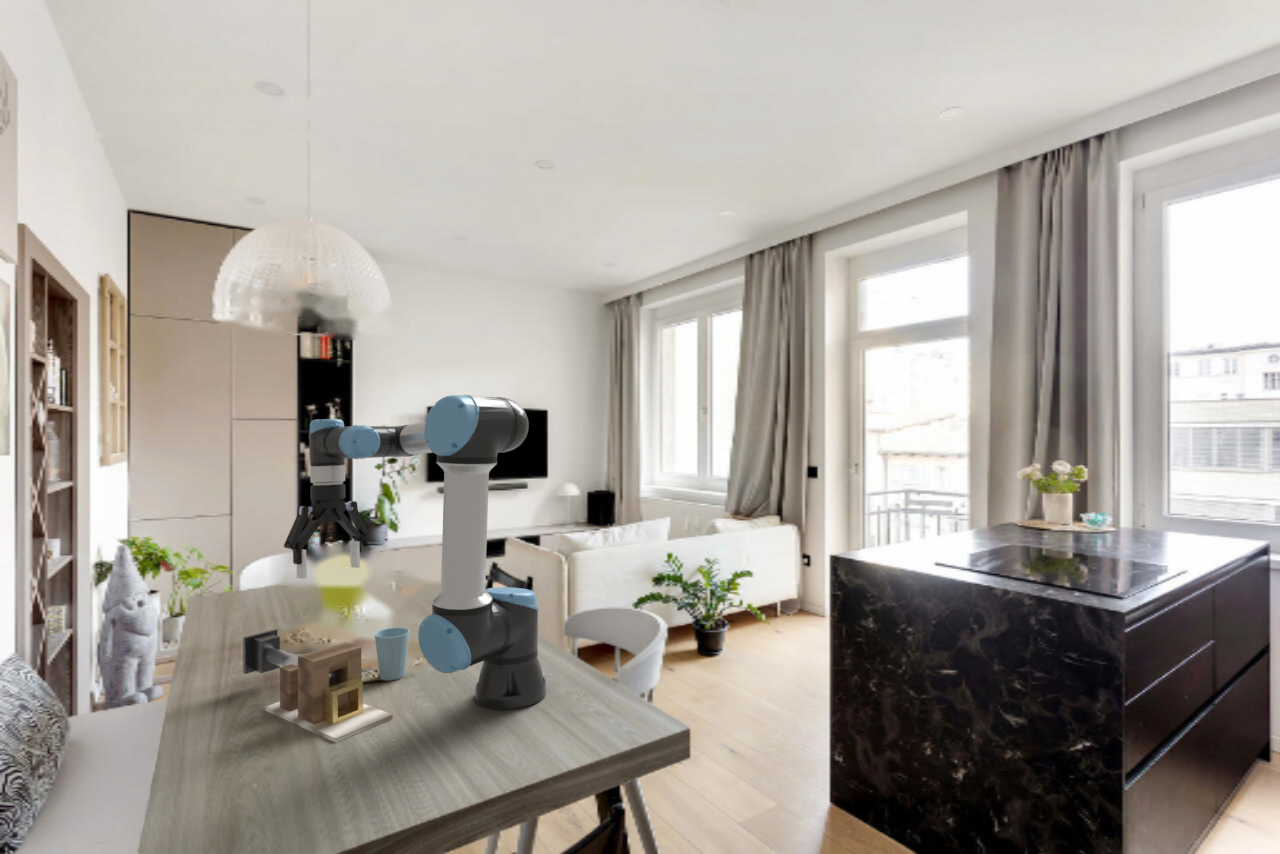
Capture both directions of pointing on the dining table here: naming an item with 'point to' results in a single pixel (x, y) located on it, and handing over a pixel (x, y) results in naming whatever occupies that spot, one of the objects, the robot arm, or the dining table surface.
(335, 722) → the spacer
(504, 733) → the dining table surface
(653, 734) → the dining table surface
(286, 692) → the wooden assembly fixture
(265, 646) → the shaft
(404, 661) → the cup
